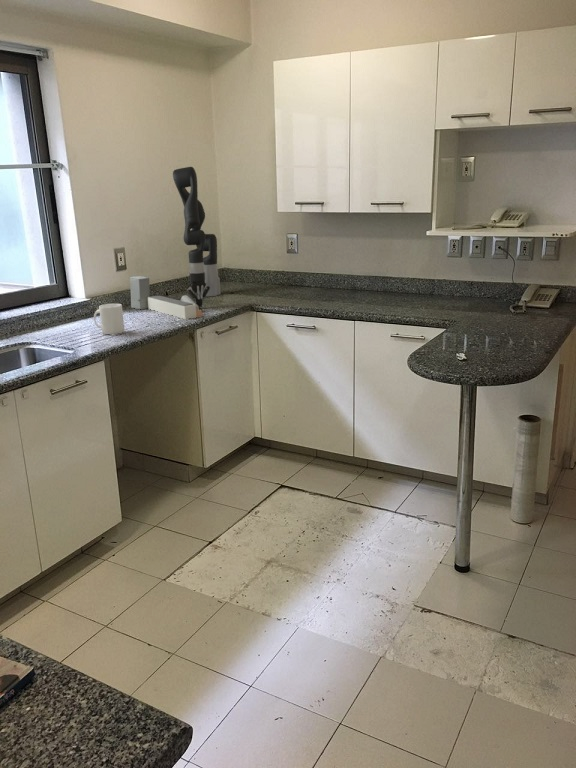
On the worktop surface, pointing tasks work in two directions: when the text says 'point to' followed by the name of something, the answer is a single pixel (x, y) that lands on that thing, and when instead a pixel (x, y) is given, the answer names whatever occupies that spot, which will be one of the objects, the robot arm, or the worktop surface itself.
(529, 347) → the worktop surface
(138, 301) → the skincare box
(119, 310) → the mug
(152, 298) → the long cream box
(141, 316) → the worktop surface
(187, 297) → the tube
